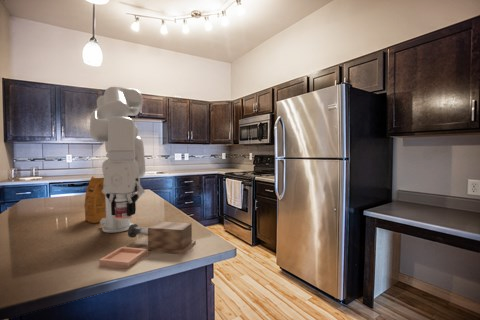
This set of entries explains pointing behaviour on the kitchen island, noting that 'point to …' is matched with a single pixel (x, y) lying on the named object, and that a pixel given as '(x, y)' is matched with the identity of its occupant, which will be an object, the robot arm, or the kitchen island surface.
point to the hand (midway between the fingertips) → (123, 214)
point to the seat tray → (123, 257)
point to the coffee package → (95, 201)
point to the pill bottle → (121, 207)
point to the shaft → (137, 231)
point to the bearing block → (167, 238)
